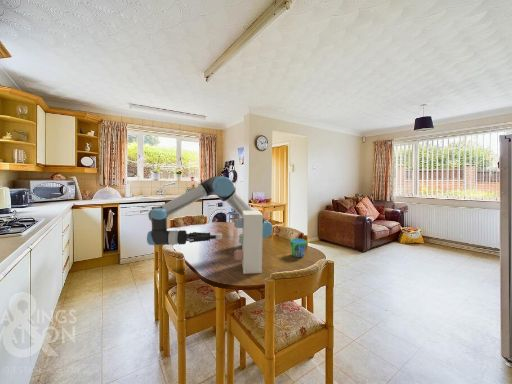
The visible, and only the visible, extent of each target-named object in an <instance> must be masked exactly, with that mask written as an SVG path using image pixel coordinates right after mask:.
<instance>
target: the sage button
mask: <svg viewBox="0 0 512 384" xmlns="http://www.w3.org/2000/svg"><path fill="white" fill-rule="evenodd" d="M238 243H239V244H240V245H241V244H243V234H242V233H240V234H239V235H238Z"/></svg>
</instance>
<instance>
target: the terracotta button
mask: <svg viewBox="0 0 512 384" xmlns="http://www.w3.org/2000/svg"><path fill="white" fill-rule="evenodd" d="M233 257H234V258H233V259H235V260H236V261H242V260H243V250H242V249H235V250H234V253H233Z"/></svg>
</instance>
